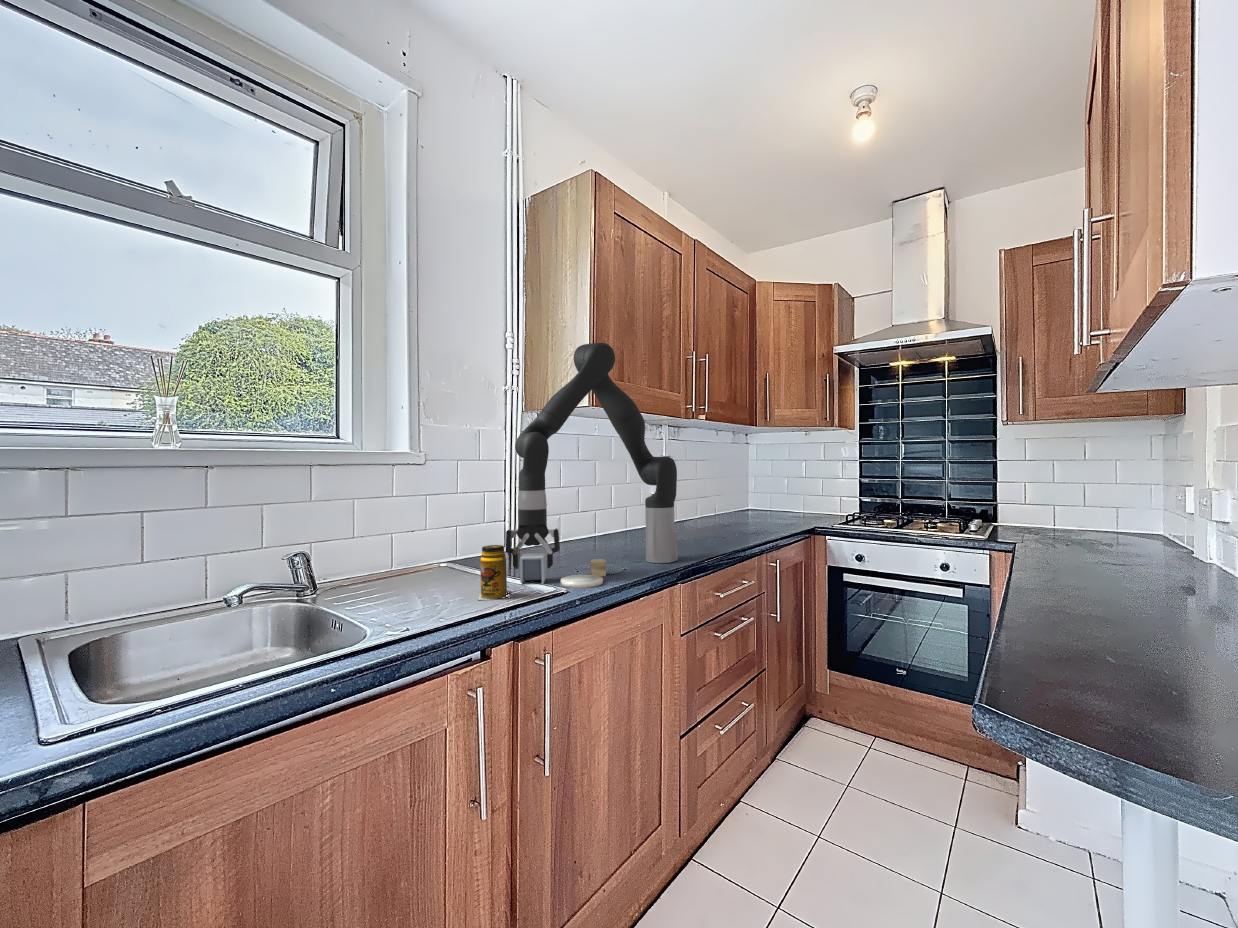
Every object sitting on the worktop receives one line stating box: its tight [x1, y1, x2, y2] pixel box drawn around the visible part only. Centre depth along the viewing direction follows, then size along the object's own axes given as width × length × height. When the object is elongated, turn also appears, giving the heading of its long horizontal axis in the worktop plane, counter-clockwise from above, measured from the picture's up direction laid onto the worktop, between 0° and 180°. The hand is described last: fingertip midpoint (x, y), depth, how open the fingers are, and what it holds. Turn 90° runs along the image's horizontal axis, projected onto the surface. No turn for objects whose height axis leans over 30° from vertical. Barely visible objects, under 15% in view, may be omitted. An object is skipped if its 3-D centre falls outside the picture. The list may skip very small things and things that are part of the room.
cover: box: [519, 553, 547, 584], centre depth 148 cm, size 6×6×7 cm
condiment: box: [478, 544, 511, 601], centre depth 133 cm, size 7×8×12 cm
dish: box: [560, 574, 604, 589], centre depth 146 cm, size 11×11×1 cm
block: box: [590, 559, 607, 577], centre depth 157 cm, size 4×4×4 cm
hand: (533, 568), depth 149 cm, fingers open, 8 cm apart
